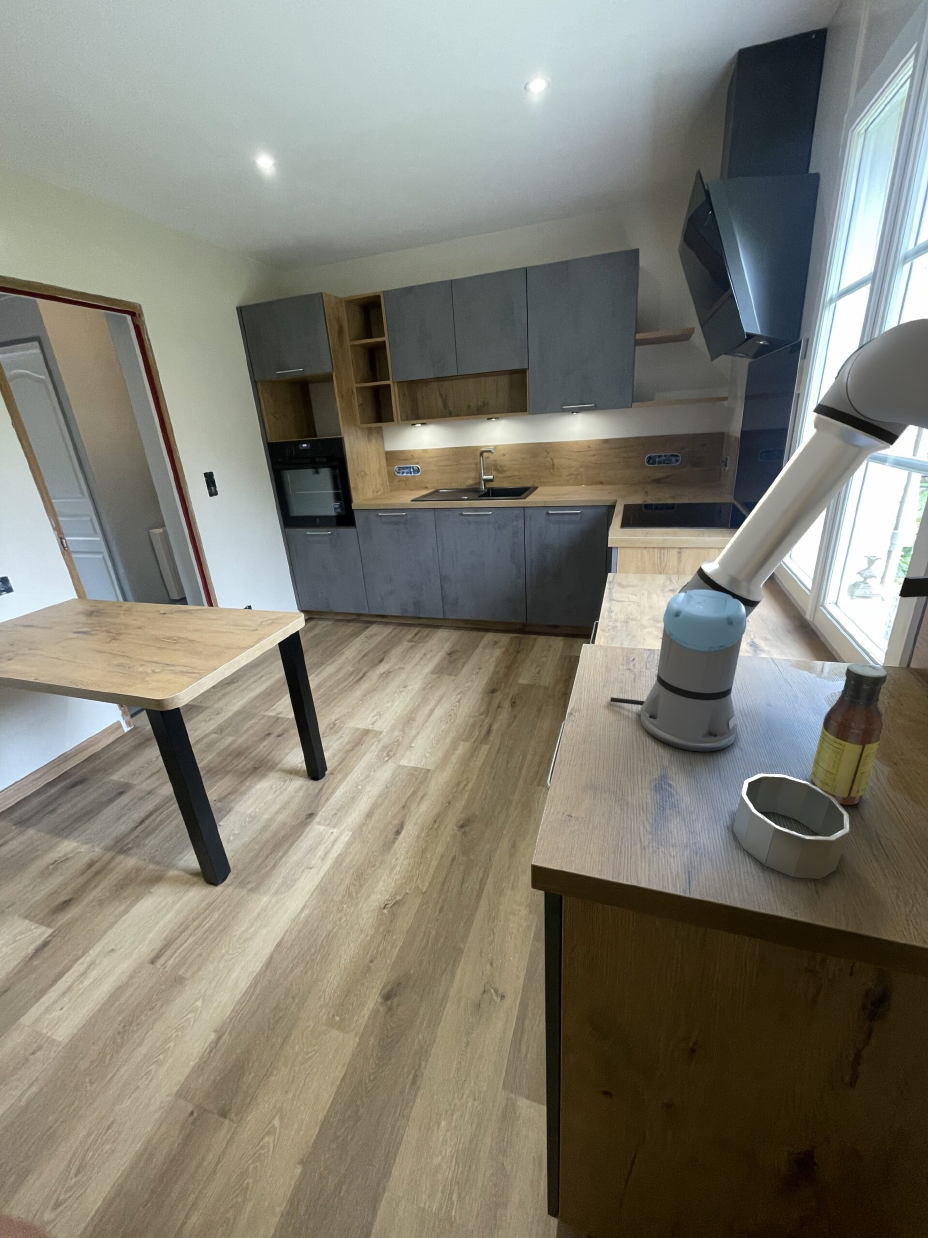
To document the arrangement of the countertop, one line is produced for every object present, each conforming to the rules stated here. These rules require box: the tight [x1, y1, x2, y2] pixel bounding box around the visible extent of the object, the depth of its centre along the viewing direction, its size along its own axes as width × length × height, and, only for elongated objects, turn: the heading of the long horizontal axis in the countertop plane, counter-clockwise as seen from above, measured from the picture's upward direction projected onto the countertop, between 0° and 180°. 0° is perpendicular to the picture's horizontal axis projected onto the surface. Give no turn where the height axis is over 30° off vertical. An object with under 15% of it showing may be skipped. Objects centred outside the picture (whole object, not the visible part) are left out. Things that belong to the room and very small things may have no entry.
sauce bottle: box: [810, 662, 888, 806], centre depth 66 cm, size 6×6×20 cm
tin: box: [732, 773, 850, 880], centre depth 61 cm, size 11×11×6 cm
